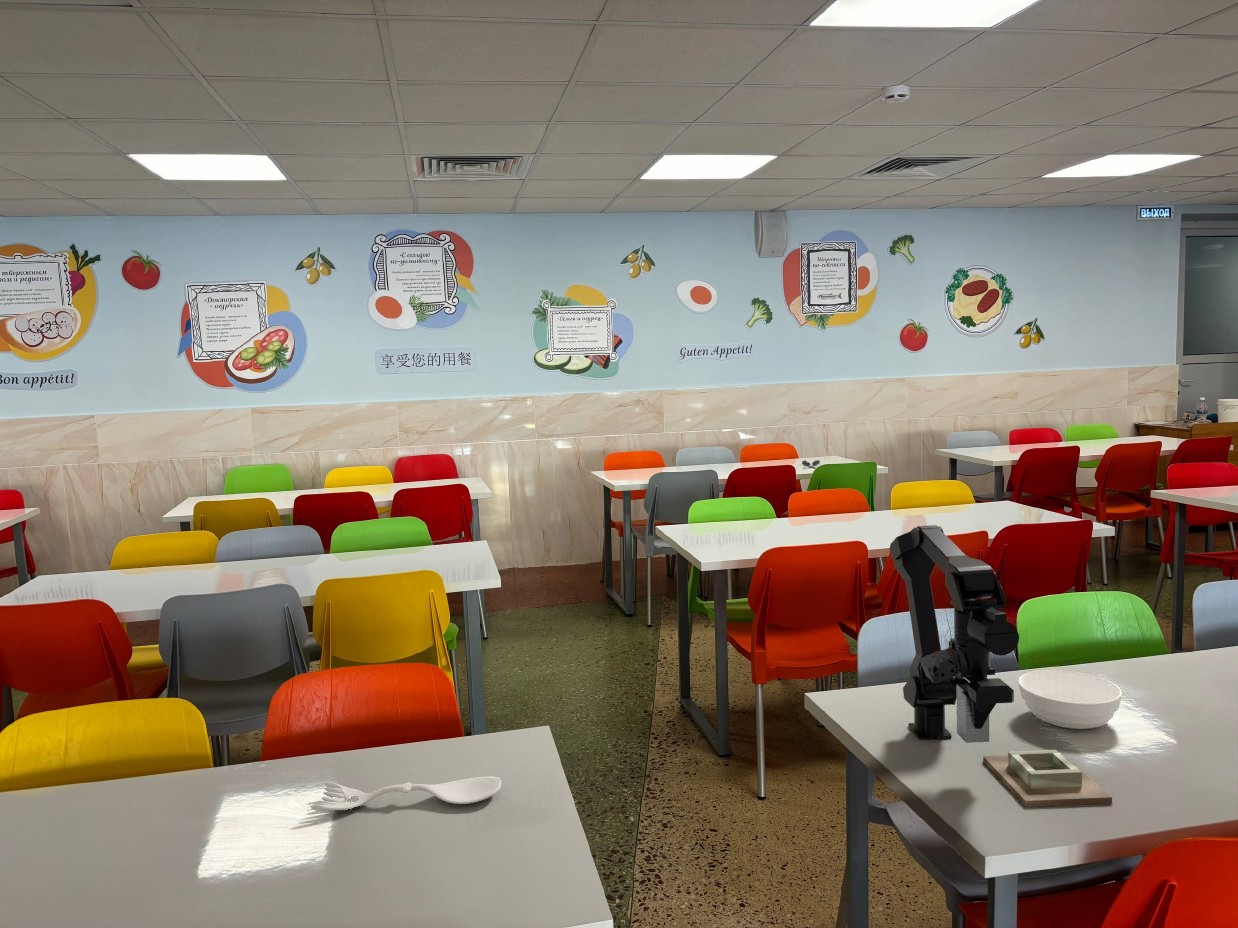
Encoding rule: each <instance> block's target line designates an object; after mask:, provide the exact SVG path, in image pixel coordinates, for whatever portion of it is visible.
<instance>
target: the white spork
mask: <svg viewBox="0 0 1238 928" xmlns="http://www.w3.org/2000/svg"><path fill="white" fill-rule="evenodd" d="M502 783H503V782H502V779H501V778H500V777H498V776H492V775H491V776H490V775H489V776H488V775H487V776H485V775H484V776H477V777H471V778H469V777H468V778H464V779H457V780H452V781H448V782H442V783H436V784H423V783H422V784H421V783H412V782H408V781H407V782H405V783H402V784H394V785H387V786H384V787H381V788H379V789H376V790H375V791H372V792H370V793H365V791H364V792H363V791H361V790H359V789H355V788H351V787H346V786H344V785H342V784H339V783H335V782H333V781H326V782H325V783H324V786H325V787H324V792H323V793H322V794H323V795H324V796H322V797H321V800H318V801H317V803H316V802H315V804H312V805H311V806H310V809H311V810H313V811H318V812H328V811H348V809H350V810H353V809H352V808H354V807H357V806H359V805H362V806H364V805H366V804H368V803H369V802H371V801H372V800H374V799H376V798H377V797H380V796H382V795H385V794H389V793H403V794H406V793H409V792H412V791H422V792H425V793H429V794H430V795H433V796H434V797H435V798H437V799H439V800H440V801H444V802H445V803H450V804H454V805H467V804H468V805H470V804H475V803H478V802H481V801H483V800H486V799H488V798H491V797H492V796H494V795H496V794H497V793H499V791H500V790H501V788H502ZM353 796H359V797H358V798H359V800H358V801H356V802H352V801H351V803H350V801H349V802H347V800H348V798H349V799H350V798H351V797H353ZM333 797H339V798H333ZM340 797H341V798H340ZM367 802H368V803H367ZM365 803H366V804H365ZM363 804H364V805H363Z"/></svg>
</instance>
